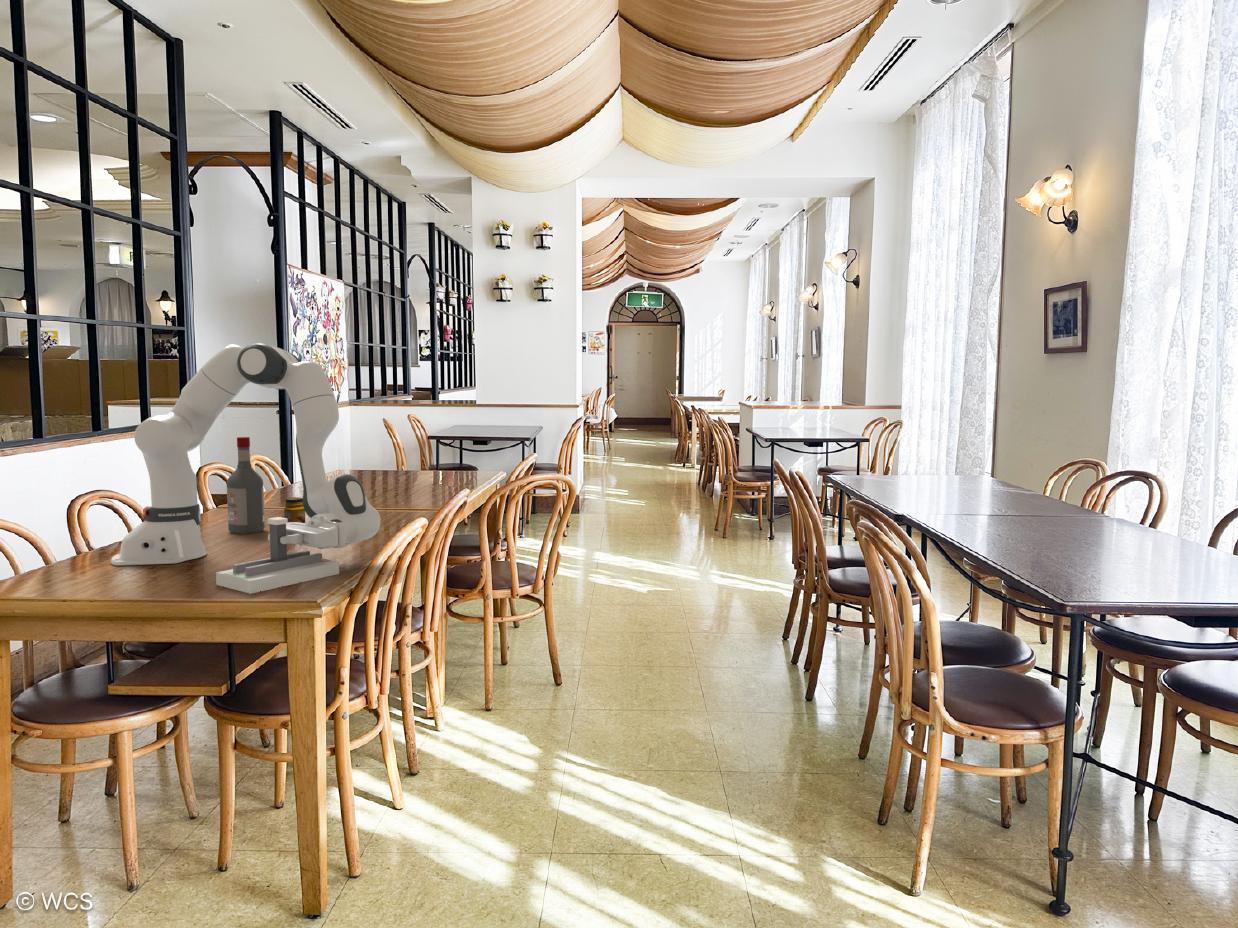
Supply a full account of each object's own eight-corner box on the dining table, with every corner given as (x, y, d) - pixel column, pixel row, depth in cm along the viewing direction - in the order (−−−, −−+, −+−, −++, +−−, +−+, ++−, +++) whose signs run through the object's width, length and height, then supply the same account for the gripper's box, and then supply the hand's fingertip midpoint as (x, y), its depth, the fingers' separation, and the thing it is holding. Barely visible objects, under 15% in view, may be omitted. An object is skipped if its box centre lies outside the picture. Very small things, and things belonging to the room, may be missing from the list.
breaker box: (250, 593, 188) (249, 572, 188) (216, 584, 196) (215, 564, 196) (339, 573, 208) (338, 554, 208) (305, 566, 216) (304, 547, 215)
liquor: (242, 535, 257) (238, 438, 254) (225, 531, 262) (221, 437, 259) (268, 530, 265) (265, 437, 262) (251, 527, 270) (247, 436, 267)
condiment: (311, 536, 256) (309, 498, 254) (283, 540, 250) (282, 501, 248) (301, 533, 261) (299, 495, 260) (274, 537, 255) (272, 498, 254)
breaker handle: (278, 568, 200) (276, 520, 198) (269, 566, 202) (267, 518, 200) (289, 566, 202) (287, 518, 201) (280, 564, 204) (278, 516, 203)
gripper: (298, 514, 217) (249, 521, 206) (348, 522, 206) (299, 531, 194) (299, 538, 218) (250, 546, 207) (349, 547, 207) (300, 557, 195)
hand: (274, 539), depth 200 cm, fingers closed on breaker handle, 3 cm apart
